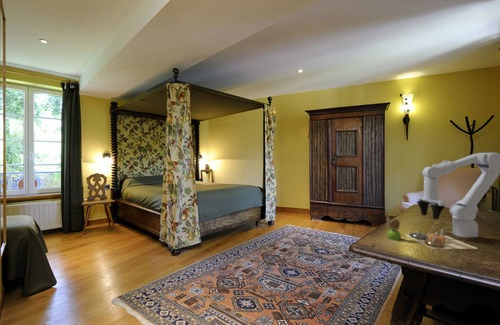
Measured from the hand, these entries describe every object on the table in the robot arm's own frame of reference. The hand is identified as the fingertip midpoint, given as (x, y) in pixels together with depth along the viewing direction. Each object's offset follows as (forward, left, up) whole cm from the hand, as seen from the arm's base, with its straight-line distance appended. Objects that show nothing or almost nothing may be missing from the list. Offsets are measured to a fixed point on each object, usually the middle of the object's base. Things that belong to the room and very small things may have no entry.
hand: (429, 217), depth 121 cm
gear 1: (+11, +7, -8) cm, 15 cm away
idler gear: (+5, +11, -8) cm, 15 cm away
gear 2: (+11, +16, -8) cm, 21 cm away
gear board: (+5, +12, -9) cm, 16 cm away
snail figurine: (+24, +8, -10) cm, 27 cm away
